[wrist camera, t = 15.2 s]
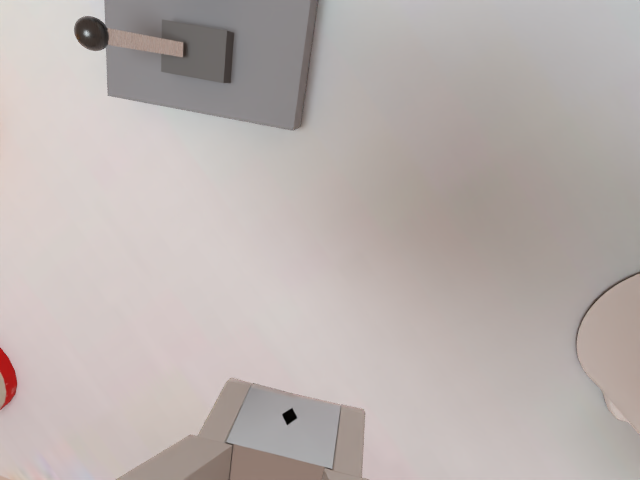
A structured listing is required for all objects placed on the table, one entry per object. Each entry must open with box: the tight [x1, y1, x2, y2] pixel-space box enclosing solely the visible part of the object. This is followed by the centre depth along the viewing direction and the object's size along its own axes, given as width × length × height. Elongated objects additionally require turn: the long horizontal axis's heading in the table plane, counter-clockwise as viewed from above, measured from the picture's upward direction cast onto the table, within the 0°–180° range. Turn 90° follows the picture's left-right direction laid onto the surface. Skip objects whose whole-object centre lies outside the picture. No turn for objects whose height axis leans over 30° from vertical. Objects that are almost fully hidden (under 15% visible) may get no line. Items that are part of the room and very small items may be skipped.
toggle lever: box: [74, 16, 183, 57], centre depth 28 cm, size 2×2×7 cm
